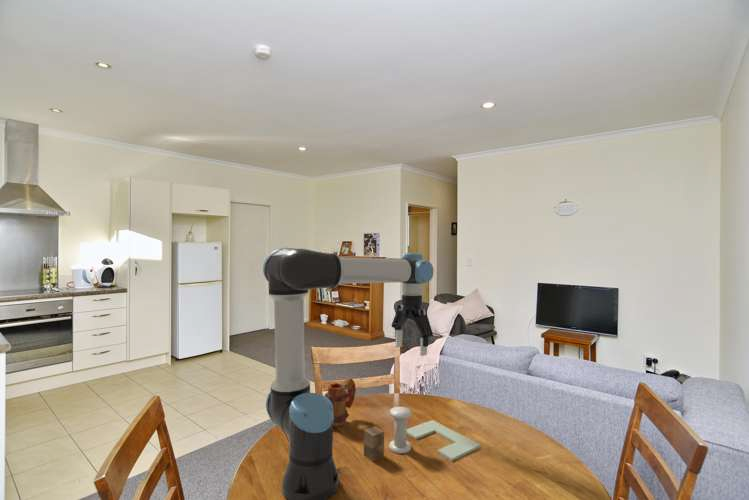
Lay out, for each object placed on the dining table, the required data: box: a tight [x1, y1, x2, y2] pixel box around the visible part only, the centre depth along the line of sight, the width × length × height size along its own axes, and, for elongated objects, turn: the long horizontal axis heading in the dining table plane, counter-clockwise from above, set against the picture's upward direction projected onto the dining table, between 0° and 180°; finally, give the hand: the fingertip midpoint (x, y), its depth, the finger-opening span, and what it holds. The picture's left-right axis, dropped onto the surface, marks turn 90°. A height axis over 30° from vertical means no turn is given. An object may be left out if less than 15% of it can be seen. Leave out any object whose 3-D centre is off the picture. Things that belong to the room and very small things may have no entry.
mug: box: [324, 377, 357, 427], centre depth 141 cm, size 15×8×15 cm, turn 143°
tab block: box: [363, 425, 385, 463], centre depth 118 cm, size 4×4×8 cm
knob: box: [388, 406, 413, 455], centre depth 123 cm, size 7×7×12 cm
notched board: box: [407, 419, 481, 462], centre depth 129 cm, size 14×22×1 cm, turn 37°
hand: (410, 350), depth 141 cm, fingers open, 13 cm apart
